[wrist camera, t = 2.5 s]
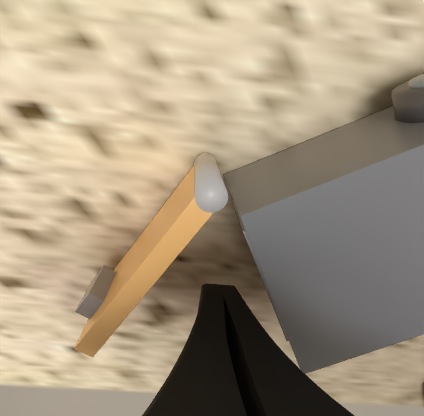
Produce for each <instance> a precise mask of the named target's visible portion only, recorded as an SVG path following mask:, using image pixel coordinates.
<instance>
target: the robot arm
mask: <svg viewBox="0 0 424 416" xmlns="http://www.w3.org/2000/svg"><path fill="white" fill-rule="evenodd" d="M142 416H354V415H353V414H351V413H350V412H349V411H348V410H346V409H345V408H344V407H343V406H341V405H340V404H339V403H338V402H336V401H335V400H334V399H333V398H331V397H330V396H329V395H328V394H327V393H326V392H324V391H323V390H322V389H321V388H320V387H319V386H317V385H316V384H315V383H314V382H313V381H312V380H311V379H310V378H309V377H308V376H306V375H305V374H304V373H303V372H302V371H301V370H300V369H299V368H298V367H297V366H296V365H295V364H294V363H293V362H292V361H291V360H290V359H289V358H288V357H287V356H286V355H285V353H284V352H283V351H282V350H281V349H280V348H279V347H278V346H277V345H276V343H275V342H274V341H273V340H272V338H271V337H270V336H269V335H268V334H267V332H266V331H265V330H264V328H263V327H262V326H261V324H260V323H259V322H258V320H257V319H256V318H255V316H254V315H253V313H252V312H251V310H250V309H249V308H248V306H247V305H246V303H245V302H244V300H243V298H242V297H241V295H240V294H239V292H238V291H237V289H236V288H235V286H231V285H218V284H204V285H202V289H201V295H200V302H199V308H198V314H197V317H196V320H195V323H194V325H193V328H192V330H191V333H190V335H189V338H188V340H187V342H186V344H185V346H184V348H183V350H182V352H181V354H180V356H179V358H178V360H177V362H176V364H175V366H174V367H173V369H172V371H171V373H170V374H169V376H168V378H167V379H166V381H165V383H164V384H163V386H162V387H161V389H160V390H159V392H158V393H157V395H156V396H155V398H154V399H153V401H152V403H151V404H150V406H149V407H148V408H147V410H146V411H145V412H144V414H143V415H142Z"/></svg>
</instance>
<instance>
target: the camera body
mask: <svg viewBox="0 0 424 416" xmlns="http://www.w3.org/2000/svg"><path fill="white" fill-rule="evenodd" d="M391 94H392V102H393V106H391V107H389V108H386V109H384V110H381V111H379V112H376V113H374V114H372V115H369V116H367V117H364V118H362V119H359V120H357V121H354V122H352V123H349V124H347V125H344V126H342V127H340V128H337V129H335V130H332V131H330V132H327V133H325V134H322V135H320V136H317V137H315V138H312V139H310V140H308V141H305V142H303V143H300V144H298V145H295V146H293V147H290V148H288V149H285V150H283V151H280V152H278V153H276V154H273V155H271V156H268V157H266V158H263V159H261V160H258V161H256V162H253V163H251V164H249V165H246V166H244V167H241V168H239V169H236V170H234V171H231V172H229V173H226V174H224V178H225V181H226V183H227V186H228V188H229V191H230V193H231V196H232V198H233V200H232V201H231V202H232V204H233V207H234V209H235V212H236V215H237V217H238V220H239V223H240V225H241V228H242V231H243V233H244V236H245V238H246V241H247V243H248V246H249V248H250V251H251V253H252V256H253V258H254V261H255V263H256V266H257V268H258V271H259V273H260V276H261V278H262V281H263V283H264V286H265V288H266V291H267V293H268V295H269V298H270V300H271V303H272V305H273V308H274V310H275V313H276V315H277V318H278V320H279V323H280V325H281V328H282V330H283V333H284V335H285V338H286V340H287V341H289V342H290V344H291V347H292V349H293V352H294V354H295V357H296V359H297V362H298V364H299V367H300V369H301V371H302V372H303V373H304V374H306V373H309V372H312V371H315V370H318V369H321V368H324V367H327V366H330V365H333V364H336V363H339V362H342V361H345V360H348V359H351V358H354V357H357V356H360V355H363V354H366V353H369V352H372V351H375V350H378V349H381V348H384V347H387V346H390V345H393V344H396V343H399V342H402V341H405V340H408V339H411V338H414V337H417V336H420V335H423V334H424V73H423V74H420V75H418V76H416V77H414V78H412V79H411V80H409V81H407V82H404V83H402V84H400V85H399V86H397V87H396V88H394V89H393V90H392V91H391Z"/></svg>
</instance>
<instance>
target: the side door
mask: <svg viewBox="0 0 424 416" xmlns="http://www.w3.org/2000/svg"><path fill="white" fill-rule="evenodd" d="M227 201H228V193H227V190H226V187H225V185H224V182H223V179H222V176H221V174H220V171H219V168H218V166H217V163H216V160H215V158H214V157H213V156H212V155H211V154H209V153H202V154H199V155H198V156H197V157H196V159H195V162H194V166H193V167H192V168H191V170H190V171H189V172H188V174H187V175H186V176H185V177H184V179H183V180H182V181H181V183H180V184H179V185H178V187H177V188H176V189H175V191H174V192H173V193H172V195H171V196H170V197H169V198H168V200H167V201H166V202H165V204H164V205H163V206H162V208H161V209H160V210H159V212H158V213H157V214H156V215H155V217H154V218H153V219H152V221H151V222H150V223H149V225H148V226H147V227H146V229H145V230H144V231H143V233H142V234H141V235H140V236H139V238H138V239H137V240H136V242H135V243H134V244H133V246H132V247H131V248H130V250H129V251H128V252H127V253H126V255H125V256H124V257H123V259H122V260H121V261H120V263H119V264H118V265H117V267H116V268H115V269H114V270H112V269H110V268H108V267H106V266H105V265H104V266H103V267H102V269H101V270H100V271H99V273H98V274H97V275H96V277H95V278H94V279H93V281H92V282H91V284H90V286H89V288H88V290H87V291H86V293H85V295H84V297H83V299H82V300H81V302H80V304H79V306H78V308H77V309H76V311H75V312H77V313H79V314H81V315H83V316H85V317H87V318H89V319H88V321H87V323H86V325H85V327H84V329H83V331H82V333H81V336H80V338H79V340H78V342H77V344H76V346H75V348H74V349H75V350H78V351H80V352H82V353H84V354H87V355H89V356H91V357H94V355H95V354H96V353H97V352H98V351H99V349H100V348H101V347H102V346H103V345H104V343H105V342H106V341H107V340H108V339H109V337H110V336H111V335H112V334H113V333H114V331H115V330H116V329H117V328H118V327H119V325H120V324H121V323H122V322H123V321H124V319H125V318H126V317H127V316H128V315H129V313H130V312H131V311H132V310H133V309H134V307H135V306H136V305H137V304H138V303H139V301H140V300H141V299H142V298H143V297H144V295H145V294H146V293H147V292H148V291H149V289H150V288H151V287H152V286H153V285H154V283H155V282H156V281H157V280H158V279H159V277H160V276H161V275H162V274H163V273H164V271H165V270H166V269H167V268H168V267H169V265H170V264H171V263H172V262H173V261H174V259H175V258H176V257H177V256H178V255H179V253H180V252H181V251H182V250H183V249H184V247H185V246H186V245H187V244H188V243H189V241H190V240H191V239H192V238H193V237H194V235H195V234H196V233H197V232H198V231H199V229H200V228H201V227H202V226H203V225H204V223H205V222H206V221H207V220H208V219H209V217H210V216H211V215H212V214H213V213H214V212H218V211H220V210H221V209H223V208H224V207H225V205H226V203H227Z"/></svg>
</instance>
